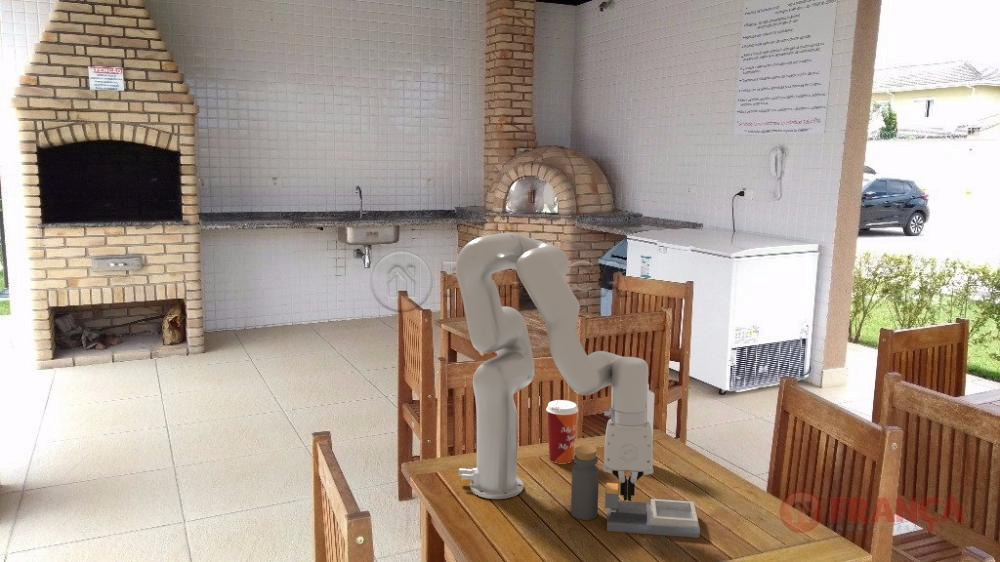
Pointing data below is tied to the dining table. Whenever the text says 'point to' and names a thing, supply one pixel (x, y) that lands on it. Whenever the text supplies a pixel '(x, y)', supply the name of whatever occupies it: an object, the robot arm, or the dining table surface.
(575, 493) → the bottle
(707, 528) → the dining table surface
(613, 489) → the toggle
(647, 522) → the panel
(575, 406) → the coffee cup
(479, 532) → the dining table surface
